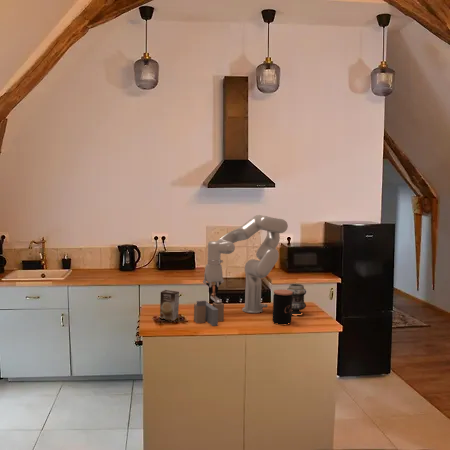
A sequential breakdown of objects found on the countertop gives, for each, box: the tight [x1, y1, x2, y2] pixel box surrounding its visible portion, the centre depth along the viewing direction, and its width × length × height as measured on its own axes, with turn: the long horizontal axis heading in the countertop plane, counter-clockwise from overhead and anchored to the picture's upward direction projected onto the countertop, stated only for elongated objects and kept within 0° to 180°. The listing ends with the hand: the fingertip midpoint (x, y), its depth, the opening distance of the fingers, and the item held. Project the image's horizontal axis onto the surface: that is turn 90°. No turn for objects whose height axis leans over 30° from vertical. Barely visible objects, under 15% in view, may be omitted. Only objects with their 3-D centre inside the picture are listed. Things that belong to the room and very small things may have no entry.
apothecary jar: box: [286, 283, 307, 314], centre depth 307 cm, size 12×12×18 cm
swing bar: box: [210, 283, 223, 304], centre depth 293 cm, size 14×4×8 cm, turn 17°
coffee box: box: [159, 289, 180, 320], centre depth 287 cm, size 9×6×16 cm
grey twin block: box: [193, 300, 225, 327], centre depth 287 cm, size 16×20×12 cm
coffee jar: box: [271, 289, 293, 324], centre depth 288 cm, size 11×11×18 cm
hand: (213, 293), depth 299 cm, fingers closed on swing bar, 2 cm apart
